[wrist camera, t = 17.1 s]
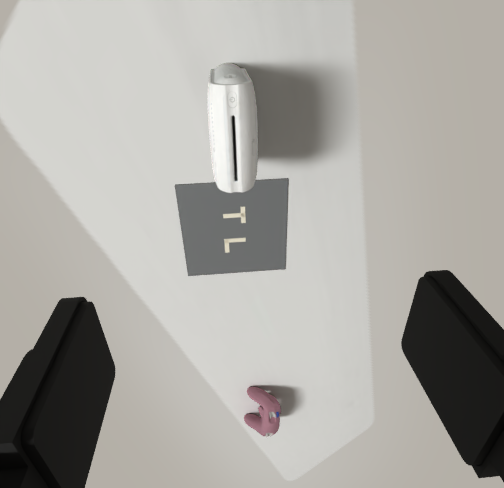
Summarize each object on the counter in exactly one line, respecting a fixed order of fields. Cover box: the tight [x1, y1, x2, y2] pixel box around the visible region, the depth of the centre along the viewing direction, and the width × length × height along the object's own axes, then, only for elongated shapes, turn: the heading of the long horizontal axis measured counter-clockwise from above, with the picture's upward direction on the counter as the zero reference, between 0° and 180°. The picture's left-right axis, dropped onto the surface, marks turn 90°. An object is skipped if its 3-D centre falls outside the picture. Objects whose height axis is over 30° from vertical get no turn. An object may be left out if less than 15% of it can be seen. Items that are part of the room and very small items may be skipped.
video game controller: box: [244, 387, 281, 438], centre depth 67 cm, size 10×5×7 cm, turn 176°
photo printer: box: [207, 63, 258, 193], centre depth 35 cm, size 10×4×12 cm, turn 1°
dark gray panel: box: [175, 178, 288, 276], centre depth 49 cm, size 14×14×1 cm
